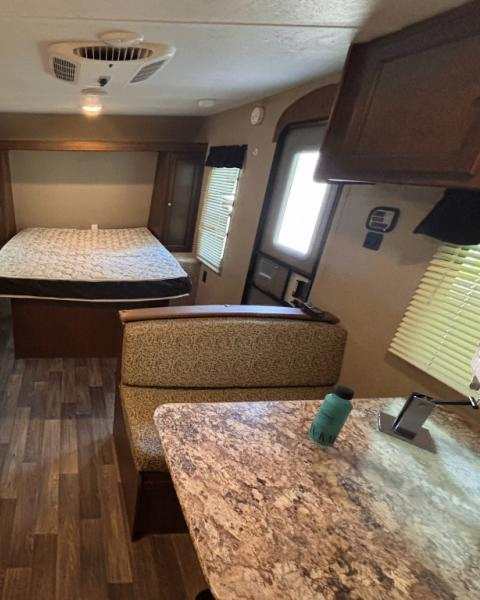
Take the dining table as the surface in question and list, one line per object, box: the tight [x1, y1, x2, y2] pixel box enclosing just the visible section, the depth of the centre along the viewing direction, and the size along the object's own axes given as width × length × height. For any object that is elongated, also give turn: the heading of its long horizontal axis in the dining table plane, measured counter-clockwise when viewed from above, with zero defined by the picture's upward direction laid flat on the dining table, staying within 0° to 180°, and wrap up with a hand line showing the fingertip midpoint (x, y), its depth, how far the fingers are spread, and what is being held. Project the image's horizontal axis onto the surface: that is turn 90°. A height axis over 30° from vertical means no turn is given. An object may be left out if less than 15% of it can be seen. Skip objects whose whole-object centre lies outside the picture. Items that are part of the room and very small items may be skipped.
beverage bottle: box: [308, 384, 355, 447], centre depth 90 cm, size 6×7×20 cm
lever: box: [413, 396, 480, 410], centre depth 91 cm, size 12×5×2 cm, turn 49°
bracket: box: [377, 389, 437, 453], centre depth 96 cm, size 12×10×14 cm
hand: (476, 397), depth 87 cm, fingers open, 8 cm apart
